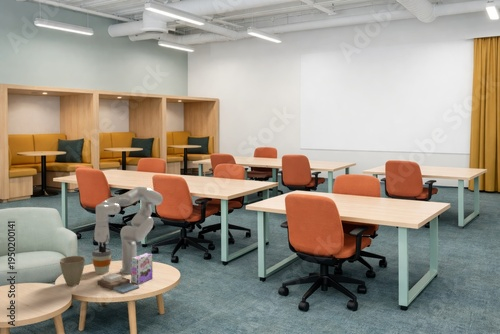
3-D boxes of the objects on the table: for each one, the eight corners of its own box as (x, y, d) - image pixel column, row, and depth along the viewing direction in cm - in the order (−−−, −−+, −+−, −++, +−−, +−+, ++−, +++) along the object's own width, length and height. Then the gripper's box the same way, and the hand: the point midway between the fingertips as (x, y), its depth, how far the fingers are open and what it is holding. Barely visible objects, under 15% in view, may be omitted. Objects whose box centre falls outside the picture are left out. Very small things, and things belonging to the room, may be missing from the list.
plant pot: (66, 279, 295) (66, 255, 293) (89, 280, 294) (88, 256, 293) (55, 287, 280) (55, 262, 279) (79, 288, 279) (78, 263, 278)
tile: (113, 276, 293) (113, 272, 293) (121, 279, 288) (121, 275, 288) (103, 280, 286) (103, 276, 286) (111, 282, 282) (111, 278, 281)
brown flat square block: (115, 279, 297) (115, 274, 296) (129, 284, 288) (129, 279, 288) (97, 285, 285) (97, 280, 285) (111, 290, 277) (111, 285, 277)
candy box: (137, 284, 288) (137, 259, 286) (130, 282, 291) (130, 257, 289) (152, 278, 300) (152, 254, 298) (146, 276, 303) (146, 252, 301)
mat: (128, 284, 288) (128, 282, 288) (139, 288, 282) (139, 286, 282) (112, 289, 278) (112, 288, 278) (123, 293, 272) (123, 292, 272)
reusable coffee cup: (108, 274, 305) (107, 253, 304) (89, 274, 305) (89, 252, 304) (114, 269, 318) (113, 247, 316) (96, 268, 318) (95, 247, 317)
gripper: (89, 223, 291) (90, 251, 293) (104, 226, 282) (105, 255, 284) (99, 221, 297) (99, 248, 299) (114, 224, 288) (115, 253, 290)
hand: (102, 251), depth 292 cm, fingers closed
